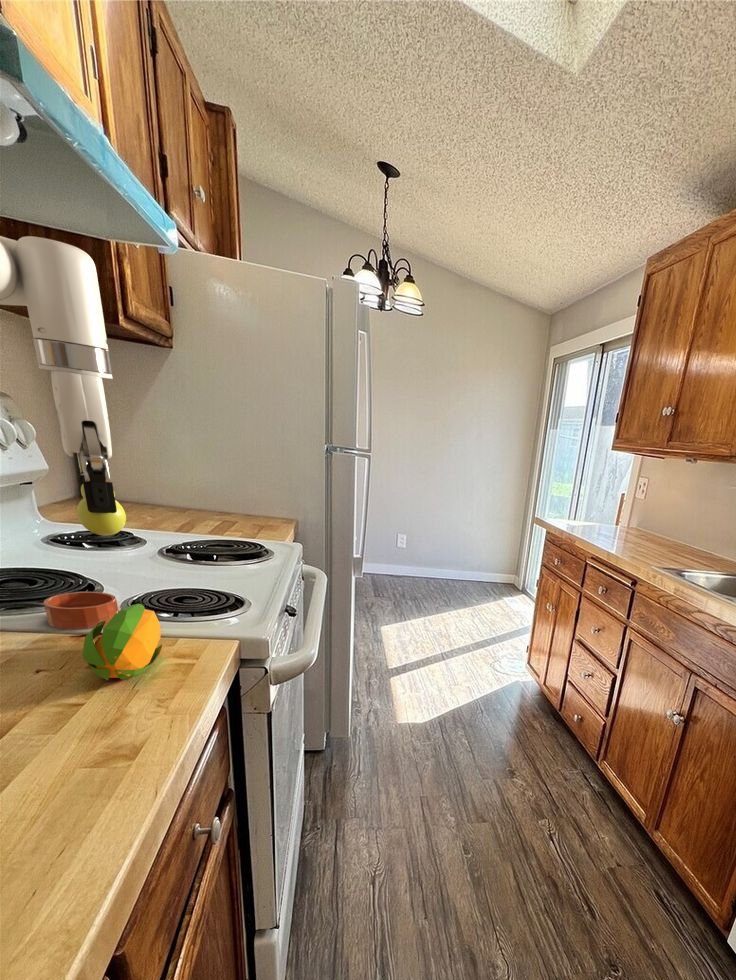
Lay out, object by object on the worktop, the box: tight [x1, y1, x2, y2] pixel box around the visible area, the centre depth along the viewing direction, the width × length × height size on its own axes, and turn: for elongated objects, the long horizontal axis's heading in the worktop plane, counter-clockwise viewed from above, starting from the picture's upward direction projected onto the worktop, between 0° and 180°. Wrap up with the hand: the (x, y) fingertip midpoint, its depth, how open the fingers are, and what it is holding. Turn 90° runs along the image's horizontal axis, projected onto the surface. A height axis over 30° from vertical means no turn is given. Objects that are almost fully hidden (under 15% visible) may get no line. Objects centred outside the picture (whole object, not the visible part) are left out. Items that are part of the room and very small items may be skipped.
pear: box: [76, 484, 127, 537], centre depth 77 cm, size 6×6×9 cm
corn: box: [82, 603, 163, 681], centre depth 74 cm, size 7×8×20 cm
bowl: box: [43, 591, 120, 638], centre depth 83 cm, size 9×9×4 cm
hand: (100, 507), depth 78 cm, fingers closed on pear, 5 cm apart
